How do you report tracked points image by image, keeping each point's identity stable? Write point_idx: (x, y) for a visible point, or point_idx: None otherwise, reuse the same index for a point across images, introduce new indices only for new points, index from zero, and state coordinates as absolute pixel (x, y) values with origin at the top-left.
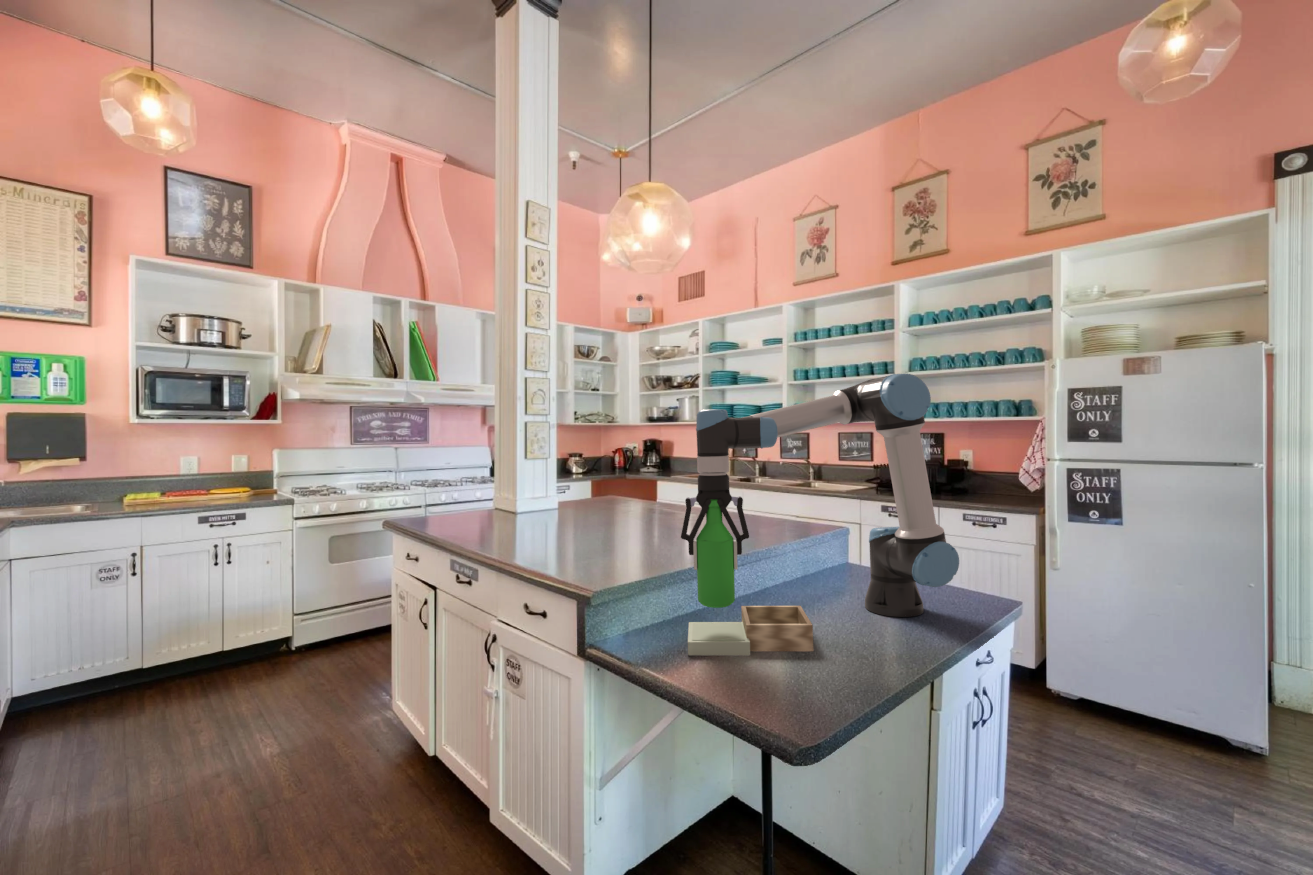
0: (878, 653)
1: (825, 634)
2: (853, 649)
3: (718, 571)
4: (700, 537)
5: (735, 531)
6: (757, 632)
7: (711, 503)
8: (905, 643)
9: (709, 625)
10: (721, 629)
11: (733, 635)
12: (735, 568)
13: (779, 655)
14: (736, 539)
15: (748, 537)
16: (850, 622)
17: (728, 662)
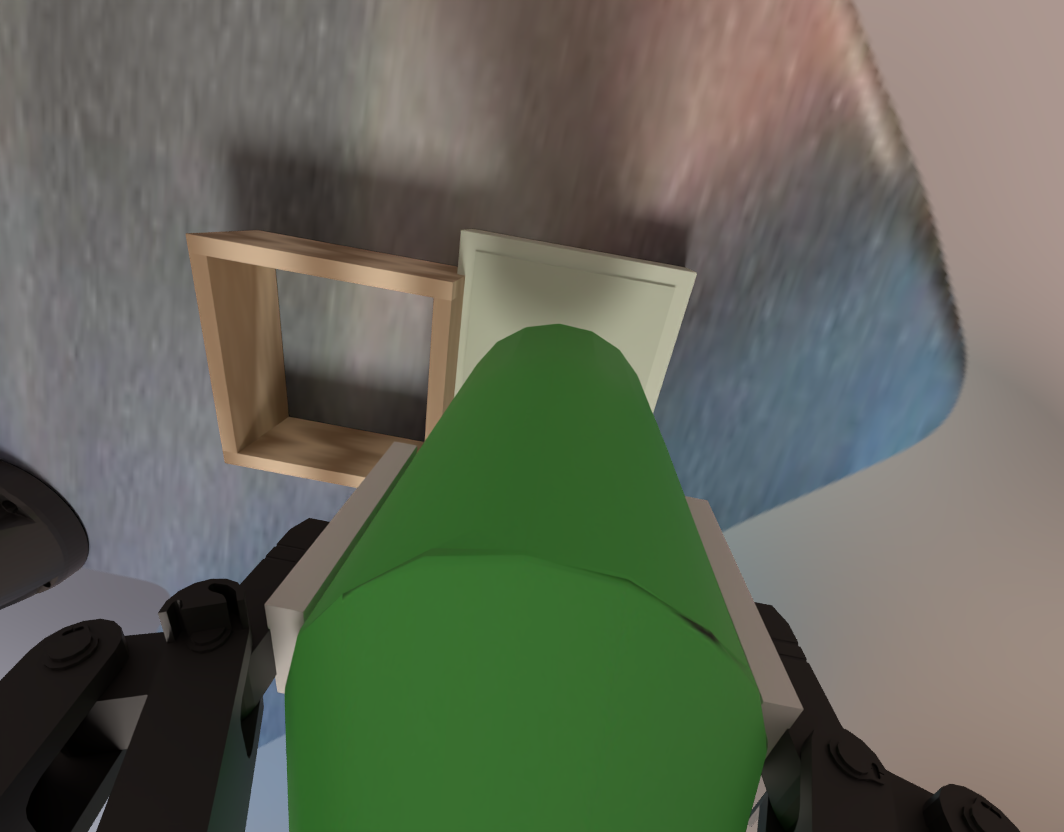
0: (50, 174)
1: None
2: (129, 225)
3: (549, 385)
4: (751, 744)
5: (170, 759)
6: (418, 270)
7: None
8: None
9: None
10: None
11: (509, 307)
12: (406, 448)
13: (373, 212)
14: (254, 651)
15: (69, 626)
16: (132, 448)
17: (560, 173)
